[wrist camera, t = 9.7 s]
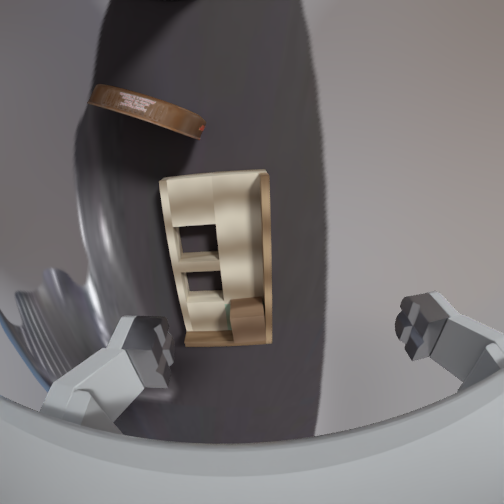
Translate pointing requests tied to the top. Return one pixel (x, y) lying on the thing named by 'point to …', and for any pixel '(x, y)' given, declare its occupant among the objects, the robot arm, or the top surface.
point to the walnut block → (247, 319)
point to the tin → (148, 109)
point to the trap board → (220, 248)
